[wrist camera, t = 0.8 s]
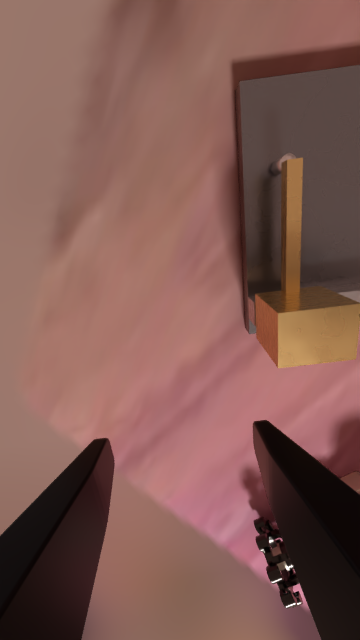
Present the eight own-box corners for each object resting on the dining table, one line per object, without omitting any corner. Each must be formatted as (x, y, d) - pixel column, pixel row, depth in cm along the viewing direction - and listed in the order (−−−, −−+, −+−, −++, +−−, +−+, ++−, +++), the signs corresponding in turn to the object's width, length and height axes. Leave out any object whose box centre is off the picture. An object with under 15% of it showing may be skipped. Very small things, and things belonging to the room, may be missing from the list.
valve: (361, 453, 26) (246, 505, 28) (420, 527, 19) (267, 587, 21) (383, 497, 28) (274, 542, 30) (444, 576, 21) (301, 627, 23)
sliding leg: (312, 155, 16) (380, 122, 11) (306, 322, 20) (355, 359, 14) (244, 164, 16) (277, 136, 11) (250, 329, 20) (278, 368, 14)
